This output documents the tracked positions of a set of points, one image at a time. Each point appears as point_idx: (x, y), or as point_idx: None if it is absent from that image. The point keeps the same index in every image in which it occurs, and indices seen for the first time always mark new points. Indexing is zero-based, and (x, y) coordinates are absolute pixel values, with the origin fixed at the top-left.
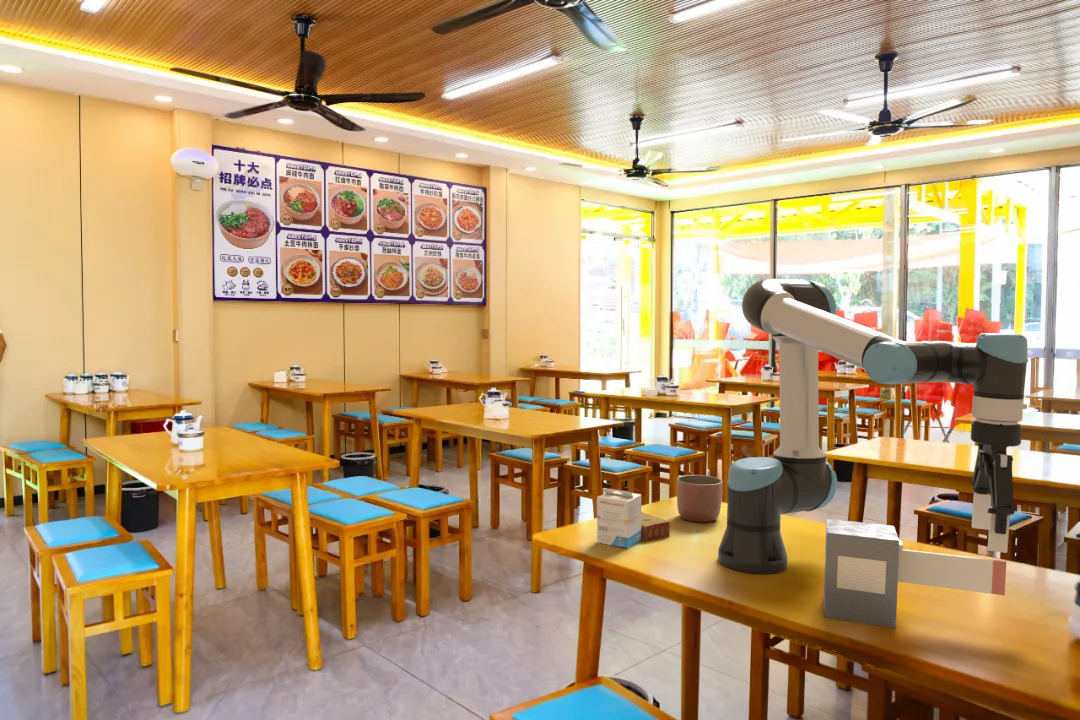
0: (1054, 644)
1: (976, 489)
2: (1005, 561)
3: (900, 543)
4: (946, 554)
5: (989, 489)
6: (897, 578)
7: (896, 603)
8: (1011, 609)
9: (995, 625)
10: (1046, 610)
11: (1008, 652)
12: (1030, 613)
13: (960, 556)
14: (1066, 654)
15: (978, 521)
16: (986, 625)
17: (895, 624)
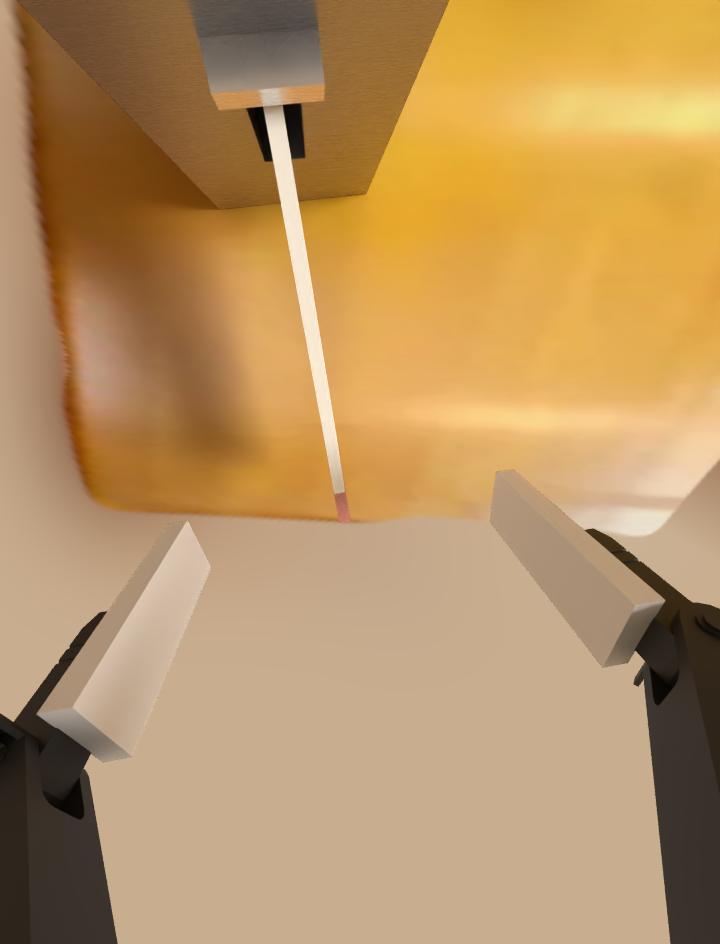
0: (331, 503)
1: (682, 640)
2: (346, 520)
3: (242, 72)
4: (320, 354)
5: (650, 702)
6: (156, 142)
7: (196, 184)
8: (465, 456)
9: (369, 429)
10: (479, 501)
11: (246, 443)
12: (456, 481)
13: (324, 404)
14: (298, 515)
15: (511, 507)
16: (361, 415)
17: (216, 205)
